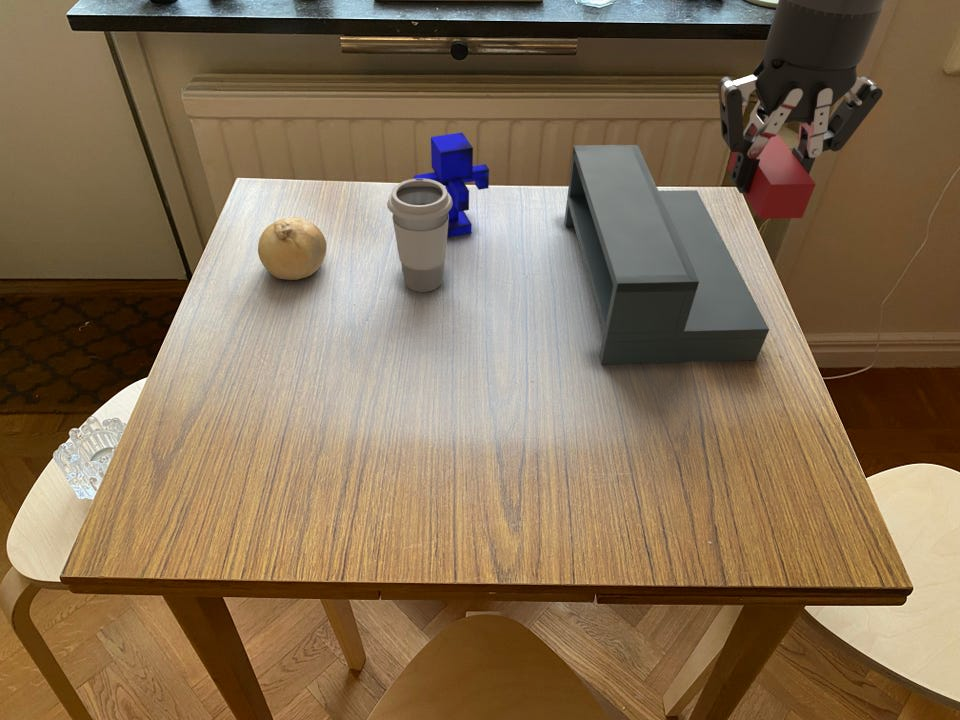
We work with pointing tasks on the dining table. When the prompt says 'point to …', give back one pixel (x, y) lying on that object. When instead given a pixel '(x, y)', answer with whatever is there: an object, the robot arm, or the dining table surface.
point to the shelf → (656, 266)
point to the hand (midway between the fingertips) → (765, 187)
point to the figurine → (456, 176)
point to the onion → (292, 248)
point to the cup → (421, 231)
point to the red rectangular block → (778, 183)
